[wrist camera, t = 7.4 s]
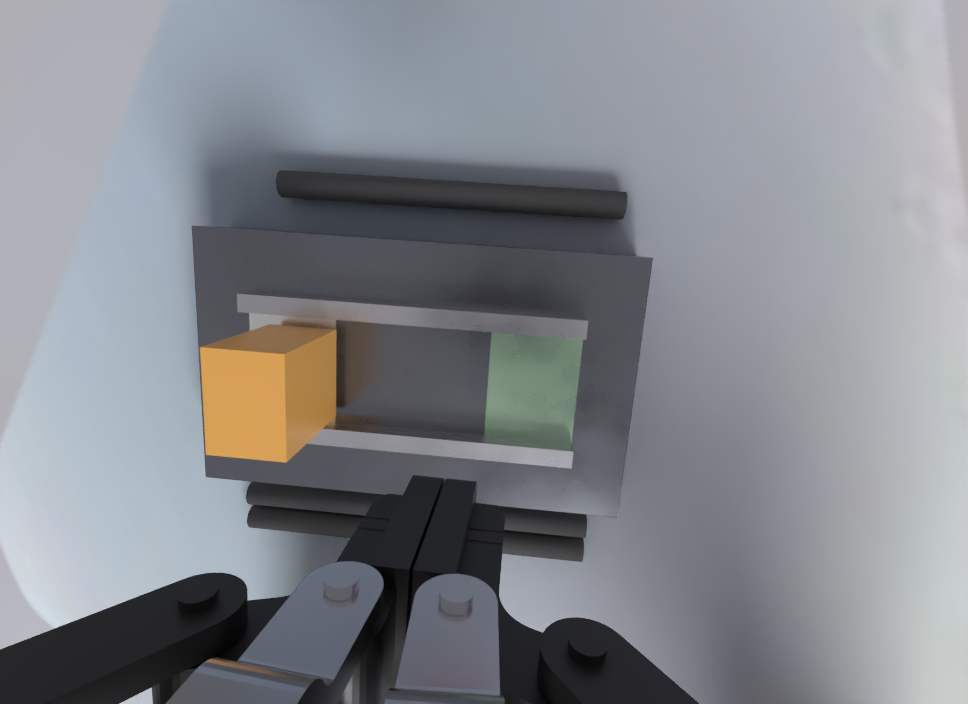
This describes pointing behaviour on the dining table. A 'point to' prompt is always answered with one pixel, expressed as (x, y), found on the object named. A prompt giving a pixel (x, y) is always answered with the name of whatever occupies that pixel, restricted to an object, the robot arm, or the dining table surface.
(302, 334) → the lever
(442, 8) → the dining table surface
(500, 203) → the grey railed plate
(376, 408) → the panel
